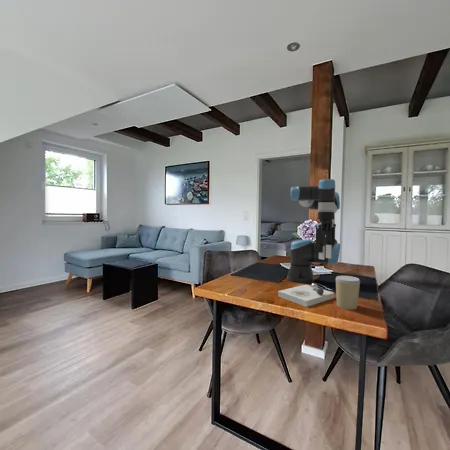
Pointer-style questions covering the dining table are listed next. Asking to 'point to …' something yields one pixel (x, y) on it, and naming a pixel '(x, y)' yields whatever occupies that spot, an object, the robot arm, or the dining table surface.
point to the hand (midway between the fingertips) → (325, 258)
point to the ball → (320, 291)
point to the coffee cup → (347, 292)
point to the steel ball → (314, 286)
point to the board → (305, 295)
